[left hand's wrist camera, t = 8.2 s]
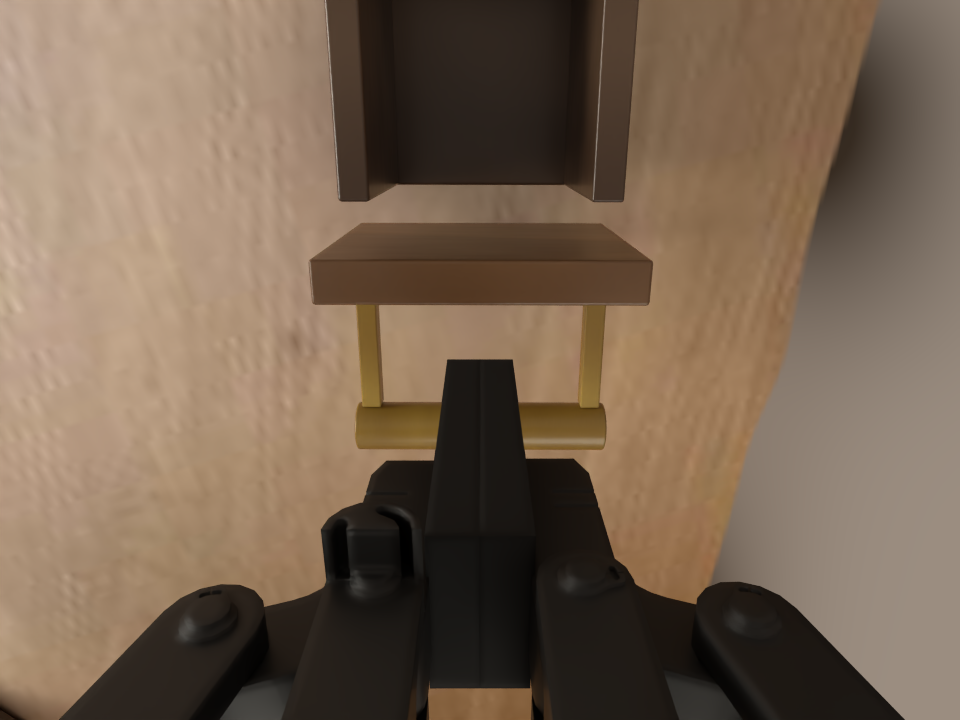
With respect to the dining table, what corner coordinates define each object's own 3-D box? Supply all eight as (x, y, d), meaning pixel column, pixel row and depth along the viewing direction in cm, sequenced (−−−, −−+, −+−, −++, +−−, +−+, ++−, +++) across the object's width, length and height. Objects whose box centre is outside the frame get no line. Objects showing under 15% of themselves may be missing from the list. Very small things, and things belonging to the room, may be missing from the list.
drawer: (591, 392, 25) (633, 489, 18) (370, 392, 26) (327, 488, 18) (638, -332, 18) (736, -627, 11) (327, -332, 18) (229, -625, 11)
